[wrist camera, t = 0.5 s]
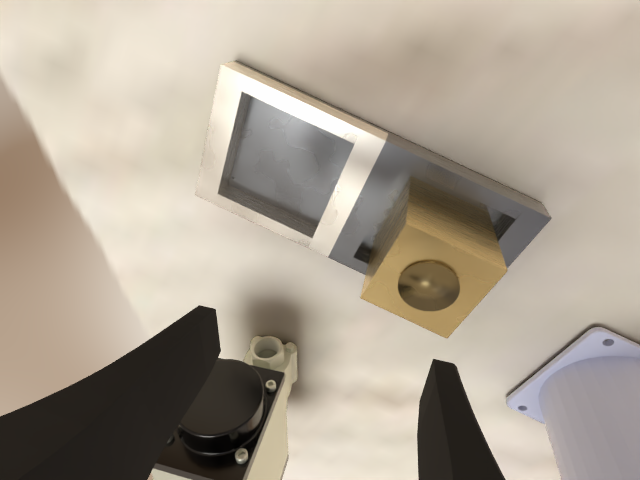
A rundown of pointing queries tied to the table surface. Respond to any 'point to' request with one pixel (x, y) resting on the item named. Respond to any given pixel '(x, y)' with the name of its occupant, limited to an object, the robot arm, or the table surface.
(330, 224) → the tray
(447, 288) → the brass cube with hole
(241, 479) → the pneumatic valve
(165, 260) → the table surface
